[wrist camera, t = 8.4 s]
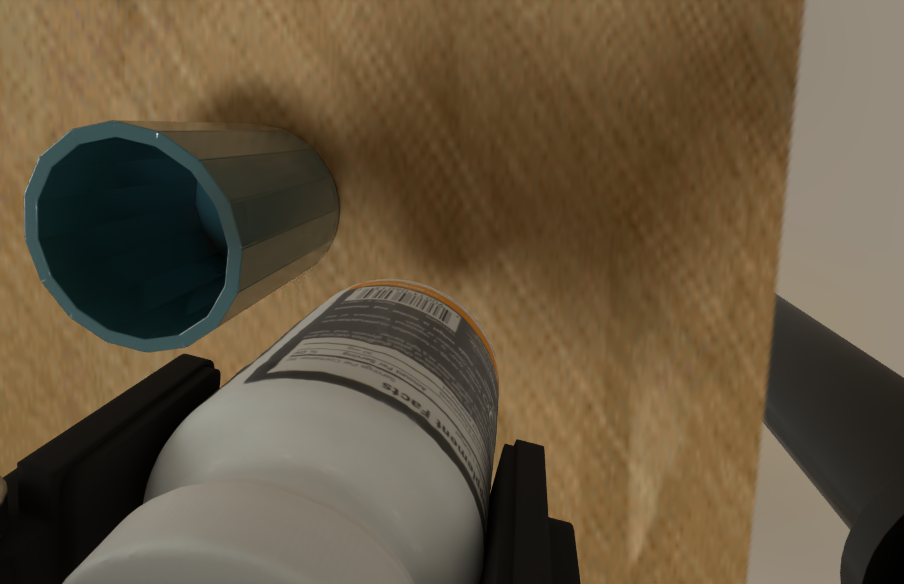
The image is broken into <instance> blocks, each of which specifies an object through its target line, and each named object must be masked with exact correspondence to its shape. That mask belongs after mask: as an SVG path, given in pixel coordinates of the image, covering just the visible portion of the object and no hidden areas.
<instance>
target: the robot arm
mask: <svg viewBox="0 0 904 584" xmlns="http://www.w3.org/2000/svg"><path fill="white" fill-rule="evenodd" d="M219 388H220V371H219V370H218V369H214V363H213V362H212V361H211V360H208V359H204V358H200V357H196V356H192V355H188V354H182V355H180V356H178V357H177V358H175V359H174V360H172V361H171V362H169V363H168V364H166V365H165V366H163V367H162V368H160V369H159V370H157V371H156V372H154V373H153V374H151V375H150V376H148V377H147V378H145V379H144V380H142V381H141V382H139V383H138V384H136V385H134V386H133V387H131V388H130V389H128V390H127V391H125V392H124V393H122V394H121V395H119V396H118V397H116V398H115V399H113V400H112V401H110V402H109V403H107V404H106V405H104V406H103V407H101V408H100V409H98V410H97V411H95V412H94V413H92V414H91V415H89V416H87V417H86V418H84V419H83V420H81V421H80V422H78V423H77V424H75V425H74V426H72V427H71V428H69V429H68V430H66V431H65V432H63V433H62V434H60V435H59V436H57V437H56V438H54V439H53V440H51V441H50V442H48V443H47V444H45V445H44V446H42V447H40V448H39V449H37V450H36V451H34V452H33V453H31V454H30V455H28V456H27V457H25V458H24V459H22V460H21V461H19V462H18V463H17V469H15V470H14V471H12V472H11V473H9V474H8V475H6V476H5V477H3V478H2V477H1V476H0V584H62V583H63V582H64V581H65V579H66V578H67V577H68V576H69V575H70V574H71V573H72V572H73V571H74V570H75V569H76V568H77V567H78V566H79V565H80V564H81V563H82V562H83V561H84V560H85V559H86V558H87V557H88V556H89V555H90V554H91V553H92V552H93V551H94V550H95V549H96V548H97V547H98V546H99V545H100V544H101V543H102V541H103V540H104V539H105V538H106V537H107V536H108V535H109V534H110V533H111V532H112V531H113V530H114V529H115V528H116V527H117V526H118V525H119V524H120V523H121V522H122V521H123V520H124V519H125V518H126V517H127V516H128V515H129V514H130V513H132V512H133V511H134V510H136V509H137V508H138V507H140V506H141V505H143V500H144V495H145V490H146V486H147V482H148V479H149V476H150V473H151V471H152V469H153V466H154V464H155V462H156V460H157V458H158V455H159V454H160V452H161V450H162V449H163V447H164V445H165V444H166V442H167V441H168V440H169V438H170V437H171V435H172V434H173V432H174V431H175V430H176V429H177V427H178V426H179V425H180V424H181V422H182V421H183V420H184V419H185V418H186V417H187V416H188V415H189V414H190V413H191V412H192V411H193V410H194V409H195V408H197V407H198V406H199V405H200V404H202V403H203V402H204V401H205V400H206V399H208V398H209V397H210V396H211V395H212V394H213V393H214V392H216V391H217V390H218V389H219ZM479 584H580V575H579V567H578V559H577V551H576V542H575V534H574V529H573V525H572V524H571V523H569V522H565V521H561V520H557V519H554V518H550V517H548V504H547V487H546V470H545V453H544V446H541V445H537V444H533V443H529V442H526V441H522V440H518V439H517V440H516V442H515V444H514V446H512V445H508V444H505V445H504V447H503V450H502V454H501V457H500V461H499V465H498V468H497V472H496V475H495V479H494V482H493V486H492V490H491V493H490V502H489V518H488V537H487V549H486V556H485V563H484V567H483V571H482V575H481V579H480V582H479Z"/></svg>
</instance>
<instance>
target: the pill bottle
mask: <svg viewBox="0 0 904 584" xmlns="http://www.w3.org/2000/svg"><path fill="white" fill-rule="evenodd" d="M498 397H499V377H498V368H497V363H496V358H495V354H494V351H493V348H492V346H491V344H490V342H489V339H488V337H487V335H486V334H485V332H484V330H483V329H482V327H481V326H480V324H479V323H478V322H477V320H476V319H475V318H474V317H473V316H472V315H471V314H470V313H469V312H468V311H467V310H466V308H465V307H463V306H462V305H461V304H460V303H458V302H457V301H456V300H454V299H453V298H452V297H450V296H449V295H447V294H445V293H443V292H441V291H439V290H436V289H434V288H432V287H430V286H427V285H424V284H421V283H418V282H414V281H409V280H403V279H380V280H372V281H368V282H363V283H360V284H356V285H353V286H351V287H349V288H347V289H345V290H343V291H341V292H339V293H337V294H336V295H334V296H333V297H331V298H330V299H329V300H327V301H326V302H324V303H323V304H322V305H320V306H319V307H317V308H316V309H315V310H314V311H312V312H311V313H310V314H308V315H307V316H306V317H305V318H304V319H302V320H301V321H299V322H298V323H297V324H295V325H294V326H293V327H292V328H291V329H290V330H289V331H288V332H286V333H285V334H284V335H283V336H282V337H281V338H280V339H279V340H278V341H277V342H276V343H274V344H273V345H272V346H271V347H270V348H269V349H268V350H266V351H265V352H264V353H262V354H261V355H260V356H259V357H258V358H257V359H256V360H255V361H254V362H252V363H251V364H250V365H248V366H246V367H244V368H243V369H242V370H240V371H239V372H238V373H237V374H236V375H235V376H234V377H233V378H232V379H230V380H229V381H228V382H227V383H226V384H224V385H223V386H222V387H221V388H219V389H218V390H217V391H216V392H214V393H213V394H212V395H211V396H210V397H209V398H208V399H206V400H205V401H204V402H203V403H202V404H200V405H199V406H198V407H197V408H195V409H194V410H193V411H192V412H191V413H190V414H189V415H188V416H187V417H186V418H185V419H184V420H183V421H182V422H181V424H180V425H179V426H178V427H177V429H176V430H175V431H174V432H173V434H172V435H171V437H170V438H169V440H168V441H167V442H166V444H165V445H164V447H163V449H162V450H161V452H160V454H159V455H158V458H157V460H156V462H155V464H154V466H153V469H152V471H151V473H150V476H149V479H148V482H147V486H146V490H145V495H144V500H143V505H141V506H140V507H138V508H137V509H136V510H134V511H133V512H132V513H130V514H129V515H128V516H127V517H126V518H125V519H124V520H123V521H122V522H121V523H120V524H119V525H118V526H117V527H116V528H115V529H114V530H113V531H112V532H111V533H110V534H109V535H108V536H107V537H106V538H105V539H104V540H103V541H102V543H101V544H100V545H99V546H98V547H97V548H96V549H95V550H94V551H93V552H92V553H91V554H90V555H89V556H88V557H87V558H86V559H85V560H84V561H83V562H82V563H81V564H80V565H79V566H78V567H77V568H76V569H75V570H74V571H73V572H72V573H71V574H70V575H69V576H68V577H67V578H66V579H65V581H64V582H63V583H62V584H479V582H480V579H481V575H482V571H483V567H484V563H485V556H486V549H487V537H488V518H489V502H490V490H491V479H492V471H493V460H494V452H495V443H496V432H497V415H498Z"/></svg>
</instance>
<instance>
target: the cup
mask: <svg viewBox="0 0 904 584" xmlns="http://www.w3.org/2000/svg"><path fill="white" fill-rule="evenodd" d="M24 194H25V195H24V230H25V238H26V239H25V241H26V243H27V246H28V249H29V251H30V254H31V257H32V259H33V262H34V265H35V267H36V270H37V272H38V275H39V278H40V280H41V281H42V283H43V285H44V286H45V287H46V288H47V290H48V291H49V292H50V293H51V295H52V296H53V297H54V298H55V300H56V301H57V302H58V303H59V305H60V306H61V307H62V308H63V310H64V311H65V312H66V314H67V315H68V316H70V318H71V319H73V320H74V321H76V322H77V323H79V324H80V325H82V326H83V327H85V328H86V329H88V330H89V331H91V332H92V333H94V334H95V335H97V336H98V337H100V338H101V339H103V340H104V341H107V342H108V343H112V344H116V345H120V346H123V347H127V348H131V349H135V350H139V351H142V352H156V351H164V350H172V349H179V348H185V347H188V346H190V345H191V344H193V343H194V342H196V341H197V340H199V339H200V338H202V337H204V336H205V335H207V334H208V333H210V332H211V331H213V330H214V329H216V328H218V327H219V326H221V325H222V324H224V323H225V322H227V321H228V320H230V319H232V318H233V317H235V316H236V315H238V314H239V313H241V312H242V311H244V310H246V309H247V308H249V307H250V306H252V305H253V304H255V303H256V302H258V301H259V300H261V299H263V298H264V297H266V296H267V295H269V294H270V293H272V292H273V291H275V290H277V289H278V288H280V287H281V286H283V285H284V284H286V283H287V282H289V281H291V280H292V279H294V278H295V277H297V276H298V275H300V274H301V273H303V272H305V271H306V270H308V269H309V268H311V267H312V266H314V265H315V264H316V263H317V262H318V261H319V260H320V259H321V258H322V257H323V256H324V254H325V253H326V252H327V250H328V249H329V247H330V245H331V243H332V241H333V239H334V236H335V234H336V230H337V226H338V220H339V201H338V195H337V190H336V187H335V183H334V181H333V178H332V176H331V174H330V171H329V170H328V168H327V166H326V165H325V163H324V162H323V160H322V159H321V158H320V156H319V155H318V154H317V153H316V152H315V151H314V150H313V148H312V147H311V146H309V145H308V144H307V143H306V142H304V141H303V140H302V139H300V138H299V137H297V136H296V135H294V134H292V133H290V132H288V131H285V130H283V129H280V128H276V127H272V126H266V125H259V124H255V123H212V122H164V121H117V120H112V121H107V122H102V123H97V124H93V125H88V126H83V127H79V128H74V129H72V130H70V131H69V132H67V133H66V134H65V135H64V136H63V137H62V138H60V139H59V140H58V141H57V142H56V143H55V144H53V145H52V146H51V147H50V148H49V149H47V150H46V151H45V152H44V153H43V154H42V155H41V156H40V157H39V159H38V161H37V164H36V166H35V169H34V171H33V174H32V176H31V178H30V181H29V183H28V186H27V188H26V191H25V193H24Z"/></svg>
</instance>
